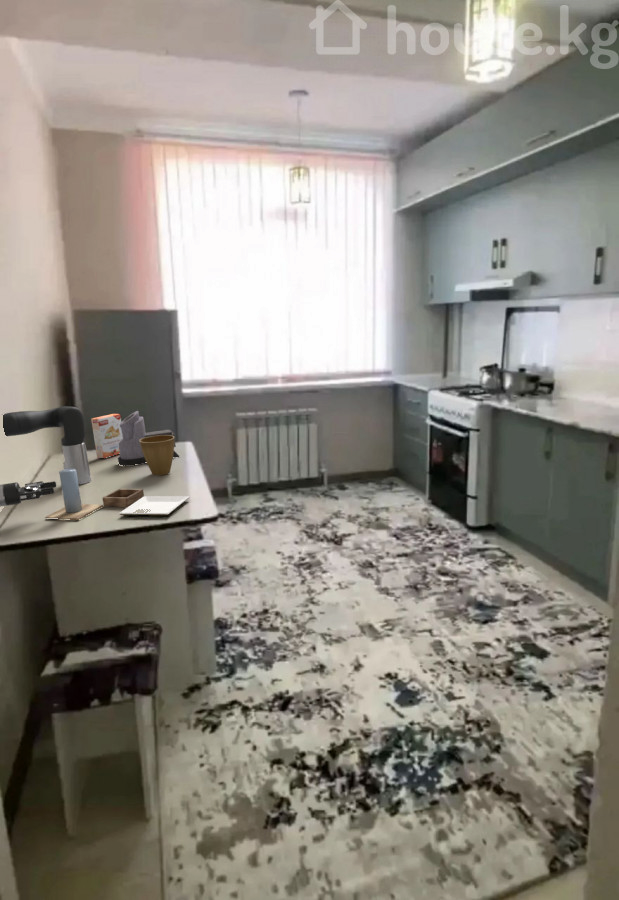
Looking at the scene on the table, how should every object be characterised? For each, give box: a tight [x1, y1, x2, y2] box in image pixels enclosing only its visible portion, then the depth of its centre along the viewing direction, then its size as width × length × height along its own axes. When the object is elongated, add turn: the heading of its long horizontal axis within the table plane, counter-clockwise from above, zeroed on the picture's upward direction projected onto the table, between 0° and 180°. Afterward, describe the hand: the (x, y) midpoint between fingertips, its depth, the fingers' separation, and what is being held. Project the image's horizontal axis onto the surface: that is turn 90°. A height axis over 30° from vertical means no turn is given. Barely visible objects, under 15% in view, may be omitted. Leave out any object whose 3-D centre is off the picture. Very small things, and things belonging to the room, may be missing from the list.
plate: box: [118, 495, 190, 517], centre depth 205 cm, size 19×19×2 cm
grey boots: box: [117, 410, 180, 467], centre depth 278 cm, size 30×16×24 cm, turn 112°
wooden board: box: [44, 503, 104, 520], centre depth 207 cm, size 14×14×1 cm
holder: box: [102, 488, 145, 508], centre depth 215 cm, size 11×11×4 cm
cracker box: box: [90, 413, 123, 459], centre depth 292 cm, size 14×6×21 cm, turn 148°
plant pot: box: [139, 435, 175, 476], centre depth 251 cm, size 15×15×16 cm
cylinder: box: [58, 469, 82, 513], centre depth 205 cm, size 6×6×15 cm
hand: (54, 487), depth 202 cm, fingers open, 8 cm apart
